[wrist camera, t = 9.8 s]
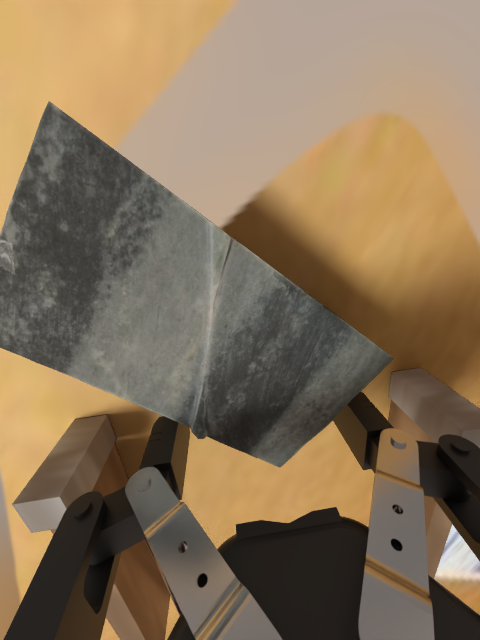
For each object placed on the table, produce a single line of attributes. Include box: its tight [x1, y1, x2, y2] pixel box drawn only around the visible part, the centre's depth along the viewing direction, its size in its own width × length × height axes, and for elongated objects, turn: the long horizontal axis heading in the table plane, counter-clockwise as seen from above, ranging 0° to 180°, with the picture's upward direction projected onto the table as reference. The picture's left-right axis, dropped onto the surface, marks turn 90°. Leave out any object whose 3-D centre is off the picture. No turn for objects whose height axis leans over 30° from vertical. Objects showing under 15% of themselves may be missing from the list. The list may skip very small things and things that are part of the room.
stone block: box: [0, 102, 393, 467], centre depth 11 cm, size 9×14×5 cm, turn 54°
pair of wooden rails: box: [12, 368, 480, 640], centre depth 17 cm, size 22×20×5 cm
